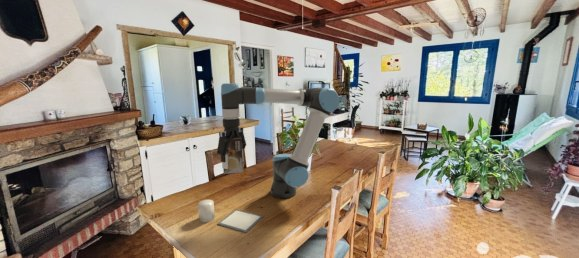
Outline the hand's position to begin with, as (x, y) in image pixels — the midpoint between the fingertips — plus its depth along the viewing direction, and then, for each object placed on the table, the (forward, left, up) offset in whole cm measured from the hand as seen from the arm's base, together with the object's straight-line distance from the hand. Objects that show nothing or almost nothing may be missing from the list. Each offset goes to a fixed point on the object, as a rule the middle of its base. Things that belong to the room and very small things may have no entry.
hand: (233, 164), depth 116 cm
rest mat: (+3, +5, -26) cm, 27 cm away
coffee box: (0, 0, -3) cm, 3 cm away
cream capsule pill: (+8, -11, -26) cm, 29 cm away
